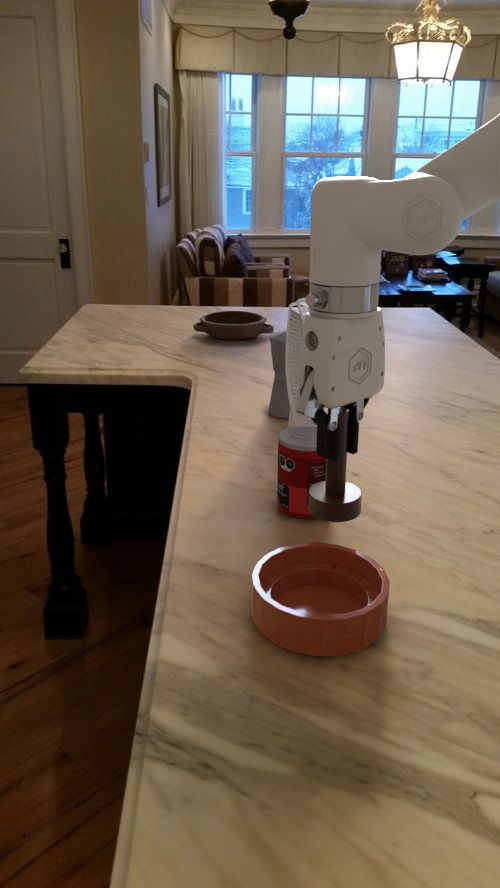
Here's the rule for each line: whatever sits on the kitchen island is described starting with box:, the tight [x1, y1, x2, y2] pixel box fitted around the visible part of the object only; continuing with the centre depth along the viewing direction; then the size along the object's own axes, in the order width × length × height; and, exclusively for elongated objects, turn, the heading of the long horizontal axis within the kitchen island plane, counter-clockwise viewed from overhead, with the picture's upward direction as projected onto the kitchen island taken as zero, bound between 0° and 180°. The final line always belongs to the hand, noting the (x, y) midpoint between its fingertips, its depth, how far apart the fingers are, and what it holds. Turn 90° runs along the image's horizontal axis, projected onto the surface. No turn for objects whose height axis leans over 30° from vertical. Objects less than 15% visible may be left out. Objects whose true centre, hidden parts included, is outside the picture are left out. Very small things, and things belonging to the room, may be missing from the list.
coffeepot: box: [268, 328, 290, 420], centre depth 133 cm, size 15×9×18 cm, turn 19°
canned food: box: [276, 426, 326, 520], centre depth 99 cm, size 8×8×11 cm
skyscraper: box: [285, 297, 317, 429], centre depth 107 cm, size 8×8×28 cm
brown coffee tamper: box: [308, 407, 363, 523], centre depth 84 cm, size 6×6×13 cm
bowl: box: [250, 541, 391, 657], centre depth 76 cm, size 15×15×5 cm
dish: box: [193, 310, 275, 341], centre depth 193 cm, size 18×22×5 cm
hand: (336, 452), depth 83 cm, fingers closed on brown coffee tamper, 2 cm apart
